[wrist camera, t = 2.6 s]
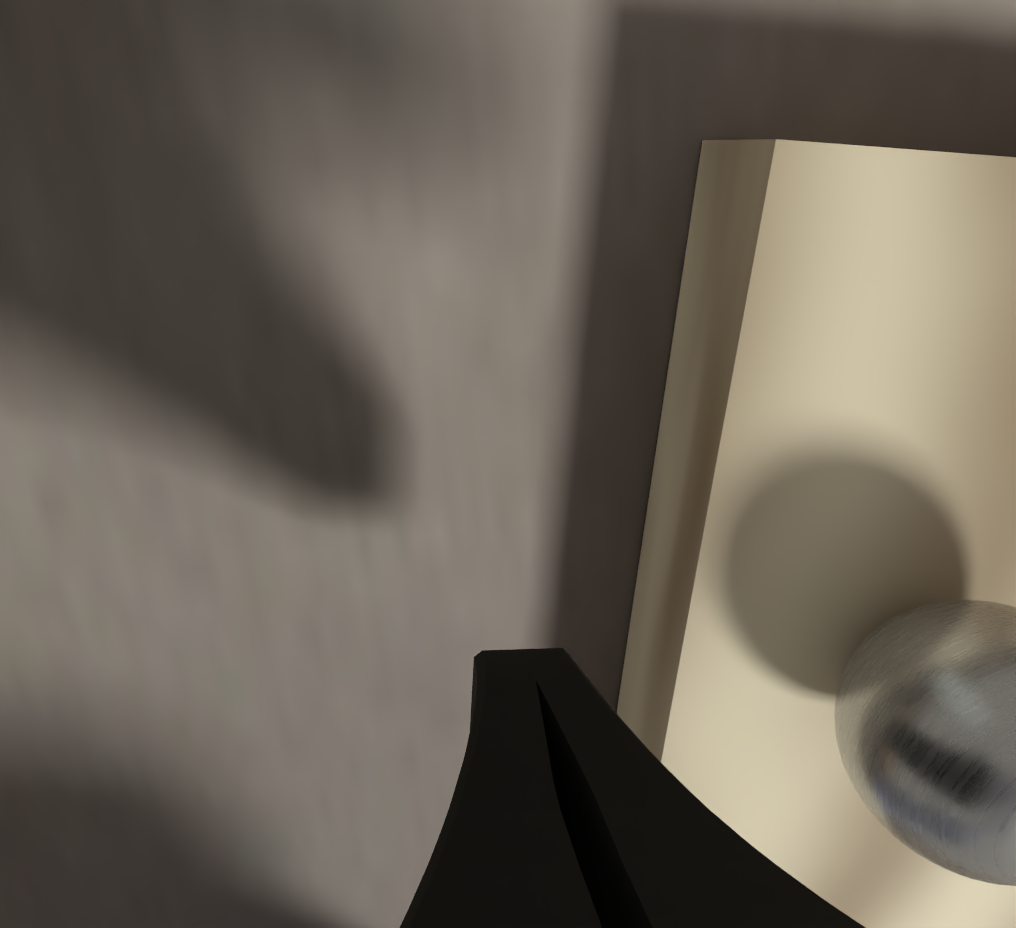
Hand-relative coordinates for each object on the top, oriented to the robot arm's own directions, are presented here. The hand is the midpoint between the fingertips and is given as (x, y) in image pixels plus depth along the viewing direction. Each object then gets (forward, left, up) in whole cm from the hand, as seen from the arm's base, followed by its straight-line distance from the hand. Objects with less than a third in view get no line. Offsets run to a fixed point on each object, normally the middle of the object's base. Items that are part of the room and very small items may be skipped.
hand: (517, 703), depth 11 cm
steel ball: (+7, 0, +1) cm, 7 cm away
